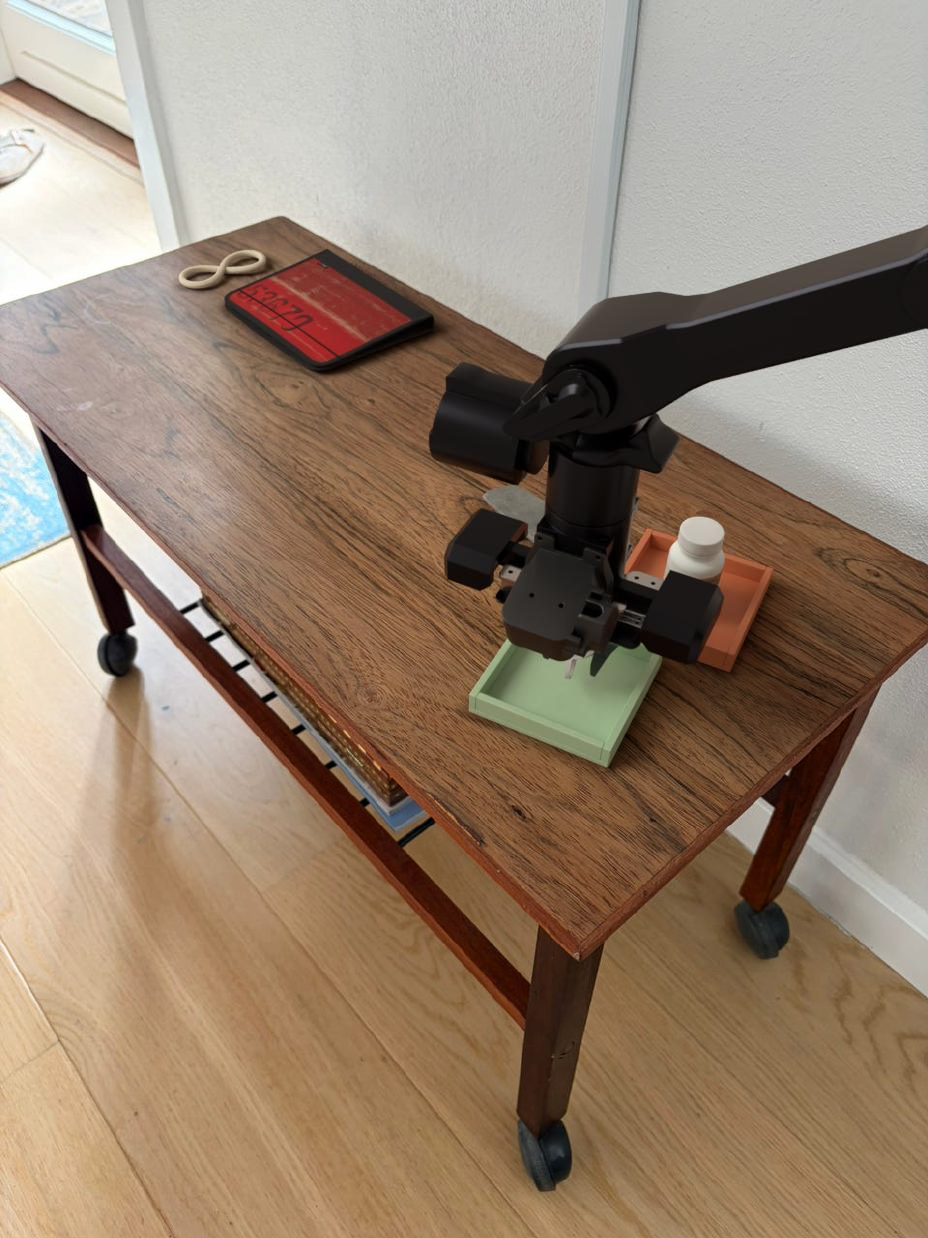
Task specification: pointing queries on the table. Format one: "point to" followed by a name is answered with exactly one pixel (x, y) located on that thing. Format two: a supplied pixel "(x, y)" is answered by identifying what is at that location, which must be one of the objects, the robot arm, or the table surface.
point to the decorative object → (222, 269)
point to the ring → (572, 662)
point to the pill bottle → (698, 550)
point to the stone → (517, 505)
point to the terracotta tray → (737, 584)
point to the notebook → (327, 312)
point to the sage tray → (566, 698)
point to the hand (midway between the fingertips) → (571, 663)
